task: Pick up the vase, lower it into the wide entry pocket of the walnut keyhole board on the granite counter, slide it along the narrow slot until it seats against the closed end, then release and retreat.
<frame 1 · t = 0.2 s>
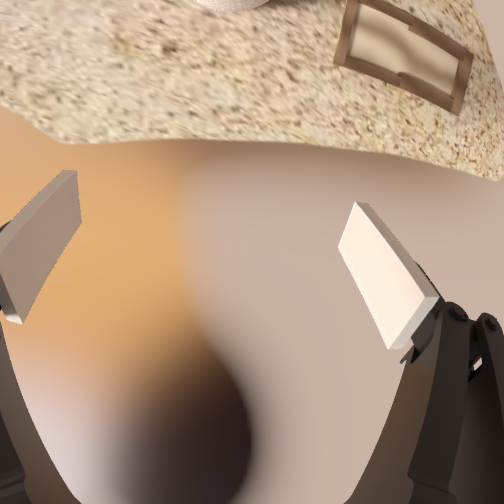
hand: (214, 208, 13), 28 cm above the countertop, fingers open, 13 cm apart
keyhole board: (410, 54, 31), on the countertop
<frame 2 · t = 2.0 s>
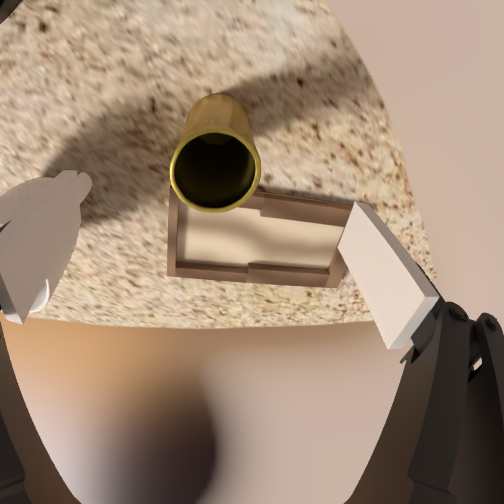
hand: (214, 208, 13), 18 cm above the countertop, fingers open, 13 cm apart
keyhole board: (265, 238, 36), on the countertop
vase: (217, 122, 28), on the countertop
mug: (62, 198, 30), on the countertop
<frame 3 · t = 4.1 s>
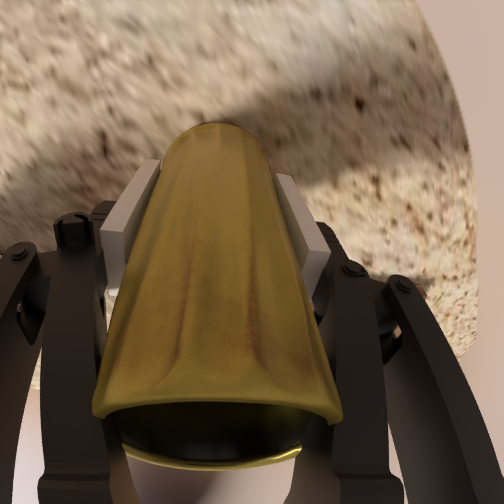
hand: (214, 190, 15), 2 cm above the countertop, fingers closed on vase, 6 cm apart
vase: (215, 172, 17), on the countertop, touching gripper
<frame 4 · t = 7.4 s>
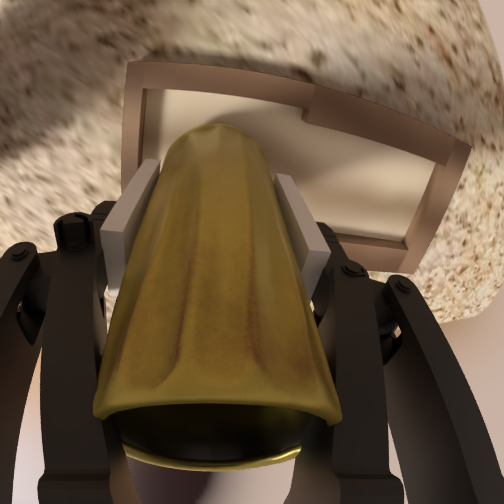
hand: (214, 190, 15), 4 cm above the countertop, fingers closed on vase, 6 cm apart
keyhole board: (308, 177, 19), on the countertop
vase: (215, 173, 17), point 1 cm above the countertop, touching gripper
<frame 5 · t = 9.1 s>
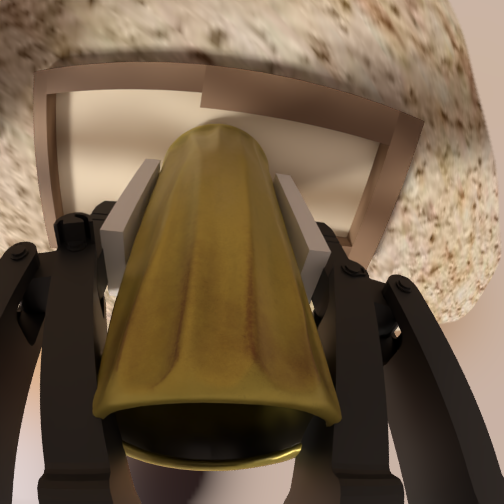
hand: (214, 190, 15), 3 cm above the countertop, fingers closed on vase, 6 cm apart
keyhole board: (219, 166, 17), on the countertop
vase: (214, 173, 17), point 1 cm above the countertop, touching gripper
when the fingers open (3 cm above the countertop, at t = 10.8 s): vase stays where it is, resting on keyhole board.
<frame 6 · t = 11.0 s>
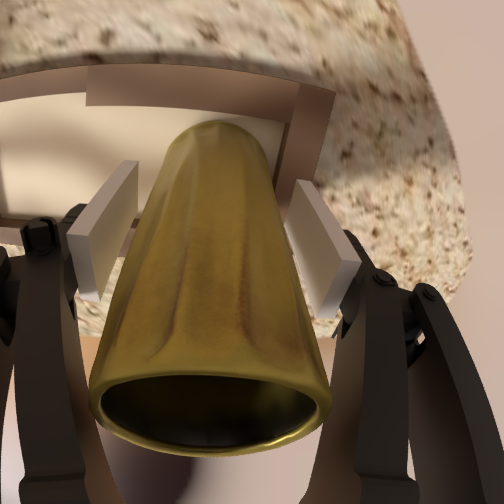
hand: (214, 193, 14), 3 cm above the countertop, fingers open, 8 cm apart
keyhole board: (116, 161, 16), on the countertop
vase: (214, 169, 17), resting on keyhole board
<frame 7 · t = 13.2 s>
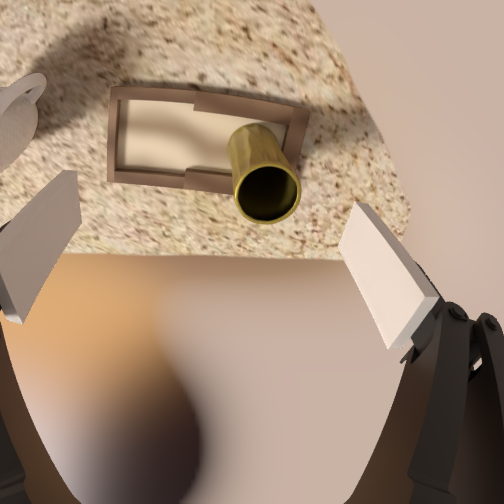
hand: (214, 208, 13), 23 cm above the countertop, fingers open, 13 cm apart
keyhole board: (202, 140, 33), on the countertop
vase: (252, 147, 34), resting on keyhole board
mug: (26, 113, 27), on the countertop
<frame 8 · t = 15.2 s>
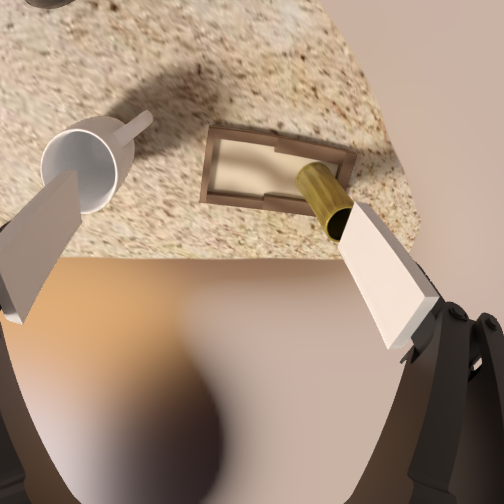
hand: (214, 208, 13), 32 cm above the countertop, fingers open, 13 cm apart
keyhole board: (277, 173, 46), on the countertop
vase: (313, 179, 47), resting on keyhole board
mug: (117, 138, 39), on the countertop
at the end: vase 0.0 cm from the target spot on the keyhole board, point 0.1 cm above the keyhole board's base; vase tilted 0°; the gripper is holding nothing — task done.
